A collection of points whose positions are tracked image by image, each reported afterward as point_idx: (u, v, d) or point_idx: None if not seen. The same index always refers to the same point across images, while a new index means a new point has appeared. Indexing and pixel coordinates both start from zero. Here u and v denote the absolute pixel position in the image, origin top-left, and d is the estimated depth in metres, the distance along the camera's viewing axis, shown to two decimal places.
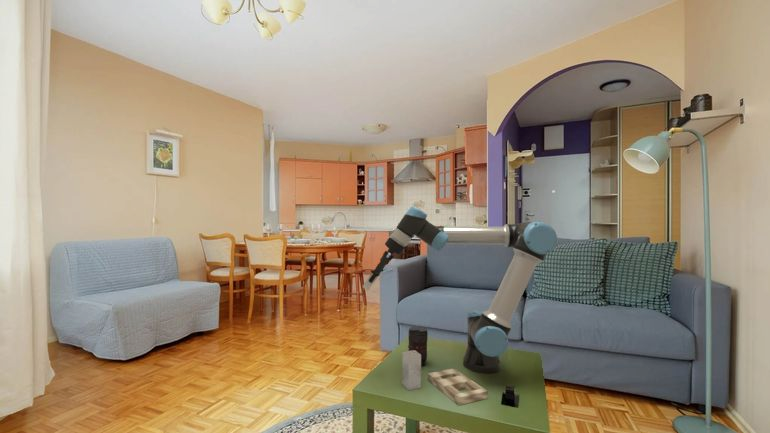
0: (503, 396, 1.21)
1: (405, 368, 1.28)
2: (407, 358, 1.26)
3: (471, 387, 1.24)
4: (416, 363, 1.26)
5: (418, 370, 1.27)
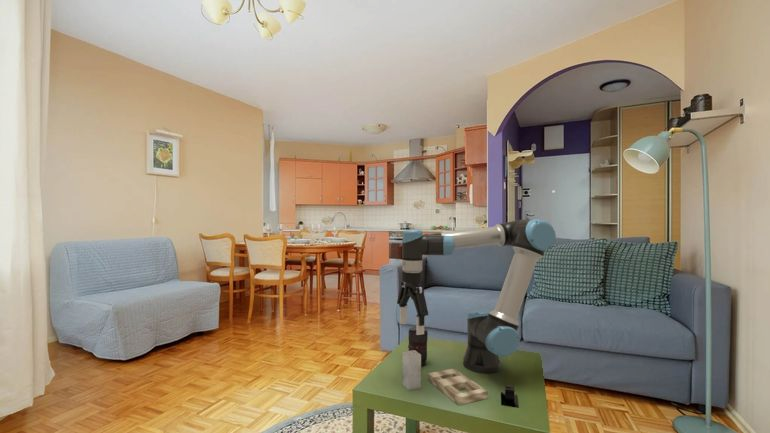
0: (502, 396, 1.21)
1: (405, 368, 1.28)
2: (407, 358, 1.26)
3: (471, 387, 1.24)
4: (416, 363, 1.26)
5: (418, 370, 1.27)
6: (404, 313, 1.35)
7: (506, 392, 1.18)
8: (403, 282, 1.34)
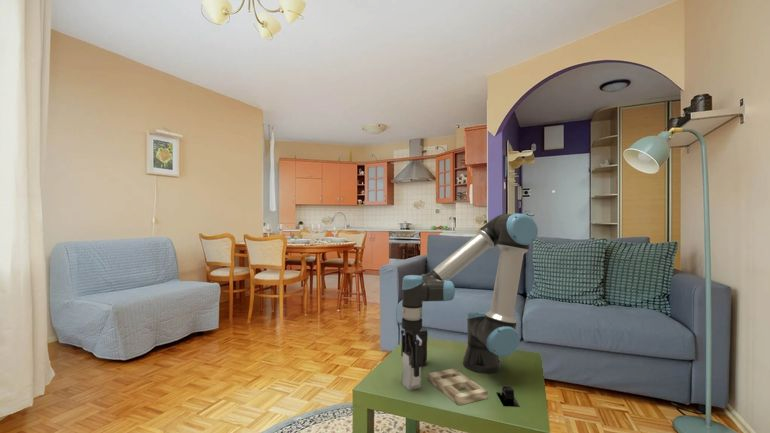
0: (500, 397, 1.20)
1: (405, 368, 1.28)
2: (407, 358, 1.26)
3: (471, 387, 1.24)
4: None
5: None
6: None
7: (506, 392, 1.17)
8: (403, 330, 1.34)
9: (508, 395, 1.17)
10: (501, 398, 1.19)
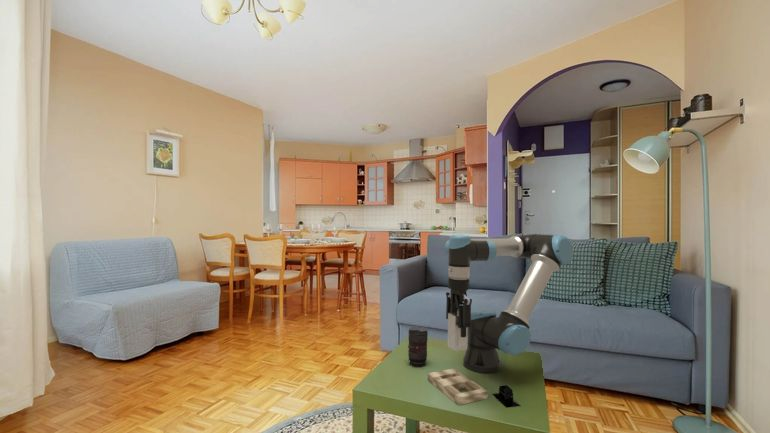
0: (498, 398, 1.20)
1: (450, 329, 1.25)
2: (453, 318, 1.23)
3: (471, 387, 1.24)
4: None
5: None
6: None
7: (506, 393, 1.17)
8: (448, 292, 1.31)
9: (508, 395, 1.17)
10: (500, 399, 1.19)
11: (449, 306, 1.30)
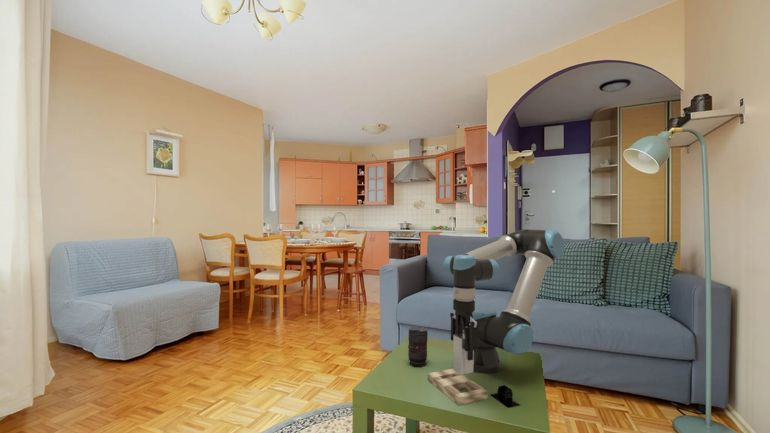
0: (497, 399, 1.19)
1: (456, 351, 1.22)
2: (459, 341, 1.20)
3: (471, 387, 1.24)
4: (469, 346, 1.21)
5: None
6: None
7: (506, 393, 1.17)
8: (452, 313, 1.28)
9: (508, 395, 1.17)
10: (499, 400, 1.18)
11: (454, 327, 1.27)
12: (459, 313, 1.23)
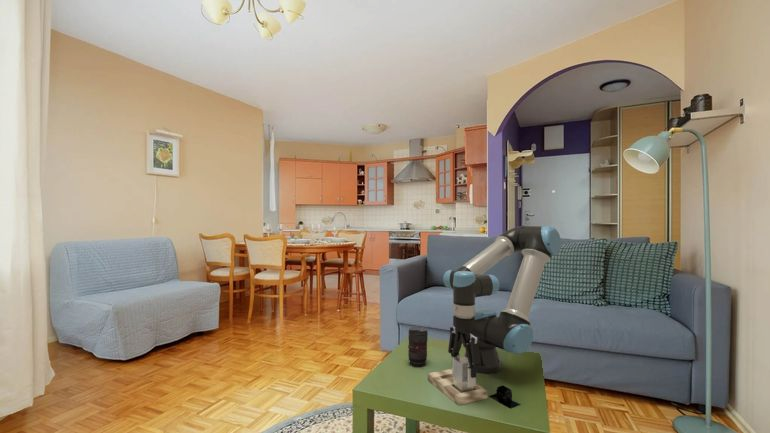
0: (497, 400, 1.18)
1: (457, 375, 1.22)
2: (460, 365, 1.20)
3: None
4: None
5: None
6: None
7: (506, 394, 1.17)
8: (452, 327, 1.28)
9: (508, 396, 1.17)
10: (499, 401, 1.18)
11: (452, 341, 1.28)
12: (459, 331, 1.23)
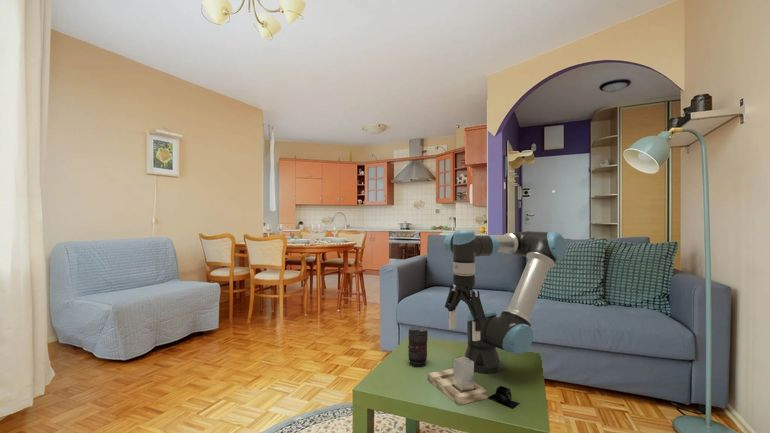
0: (497, 401, 1.18)
1: (457, 375, 1.22)
2: (460, 365, 1.20)
3: None
4: (469, 370, 1.21)
5: (471, 378, 1.21)
6: (453, 318, 1.29)
7: (507, 394, 1.16)
8: (452, 285, 1.28)
9: (508, 396, 1.17)
10: (499, 401, 1.17)
11: (450, 298, 1.30)
12: (459, 291, 1.24)
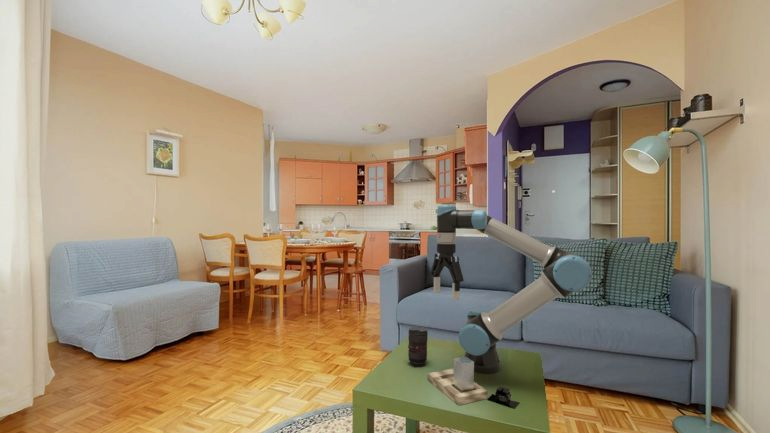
0: (497, 402, 1.17)
1: (457, 375, 1.22)
2: (460, 365, 1.20)
3: None
4: (469, 370, 1.21)
5: (471, 378, 1.21)
6: (437, 283, 1.47)
7: (507, 394, 1.16)
8: (437, 254, 1.46)
9: (508, 396, 1.16)
10: (500, 402, 1.16)
11: (435, 265, 1.47)
12: (442, 258, 1.41)
